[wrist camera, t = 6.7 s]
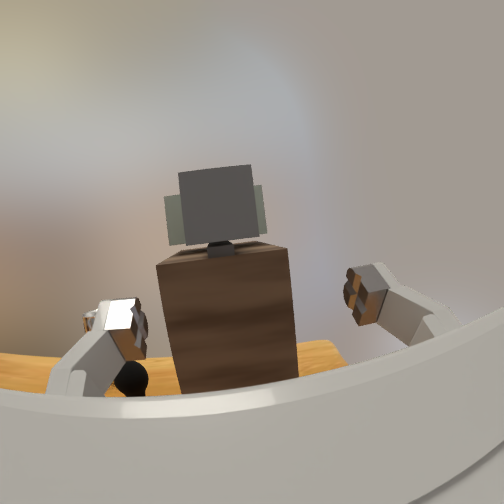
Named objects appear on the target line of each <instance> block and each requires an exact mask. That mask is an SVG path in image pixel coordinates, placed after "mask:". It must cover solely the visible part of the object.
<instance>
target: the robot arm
mask: <svg viewBox="0 0 504 504" xmlns="http://www.w3.org/2000/svg"><path fill="white" fill-rule="evenodd" d="M346 277H347V278H348V281H347V282H346V283H345V285H344V290H343V293H344V300H345V303H346V305H347V306H348V307H349V308H351V309H352V310H353V313H352V315H353V317H354V319H355V321H356V323H357V324H358V326H363V325H367V324H372V323H376V322H377V324H378V325H380V326H381V327H382V328H384V329H385V330H387V331H388V332H389V333H391V334H392V335H394V336H395V337H396V338H398V339H399V340H401V341H402V342H403V343H405V344H406V345H408V346H409V347H407V348H404V349H401V350H398V351H395V352H392V353H389V354H386V355H383V356H379V357H376V358H373V359H370V360H366V361H363V362H359V363H356V364H352V365H348V366H344V367H341V368H337V369H333V370H329V371H325V372H321V373H316V374H312V375H307V376H303V377H298V378H293V379H289V380H283V381H278V382H273V383H267V384H262V385H256V386H249V387H243V388H236V389H228V390H220V391H212V392H203V393H192V394H181V395H166V396H147V397H105V396H104V394H105V392H106V391H107V389H108V388H109V386H110V385H111V383H112V382H113V380H114V379H115V377H116V376H117V374H118V373H119V371H120V370H121V368H122V367H123V365H124V364H125V363H126V362H125V361H134V360H145V359H146V350H147V345H146V343H145V341H144V340H145V339H146V338H147V337H148V323H147V319H146V316H145V313H143V312H142V311H141V310H140V309H141V304H140V301H139V299H138V298H136V297H134V298H123V299H113V300H102V301H101V302H100V303H99V306H98V310H97V313H96V316H95V320H94V324H93V327H92V331H88V332H87V333H86V334H85V335H84V336H83V337H82V338H81V339H80V340H79V341H78V342H77V343H76V344H75V345H74V346H73V347H72V348H71V349H70V351H68V352H67V354H66V355H65V356H63V358H62V359H61V360H60V361H59V362H58V363H57V364H56V365H55V366H54V367H53V368H52V370H51V373H50V377H49V381H48V385H47V389H46V393H45V394H39V393H30V392H22V391H14V390H8V389H1V388H0V504H504V307H502V308H500V309H498V310H496V311H494V312H492V313H490V314H488V315H486V316H484V317H481V318H479V319H477V320H475V321H473V322H470V323H468V324H466V325H462V324H461V323H460V321H459V320H458V319H457V317H456V316H455V315H454V313H453V312H452V311H451V310H450V308H449V307H447V306H445V305H443V304H441V303H439V302H437V301H435V300H433V299H431V298H429V297H427V296H425V295H423V294H421V293H419V292H417V291H415V290H413V289H411V288H409V287H407V286H405V285H404V286H401V285H400V283H399V282H398V281H397V280H396V278H395V277H394V276H393V274H392V273H391V272H390V271H389V270H388V268H387V267H386V266H385V265H384V263H382V262H379V263H374V264H370V265H364V266H358V267H353V268H349V269H348V270H347V274H346Z"/></svg>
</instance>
